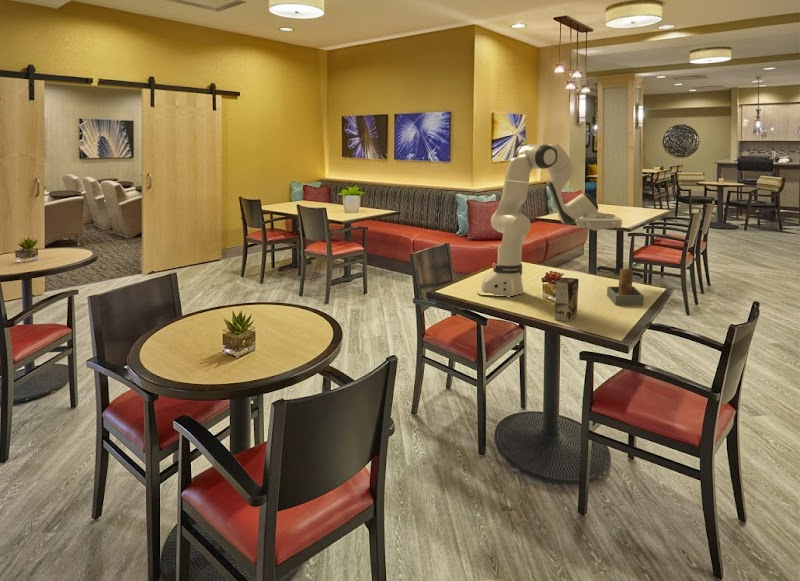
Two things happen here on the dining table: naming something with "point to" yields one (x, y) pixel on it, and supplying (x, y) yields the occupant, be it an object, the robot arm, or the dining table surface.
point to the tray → (625, 297)
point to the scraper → (625, 282)
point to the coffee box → (566, 299)
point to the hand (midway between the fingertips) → (602, 225)
